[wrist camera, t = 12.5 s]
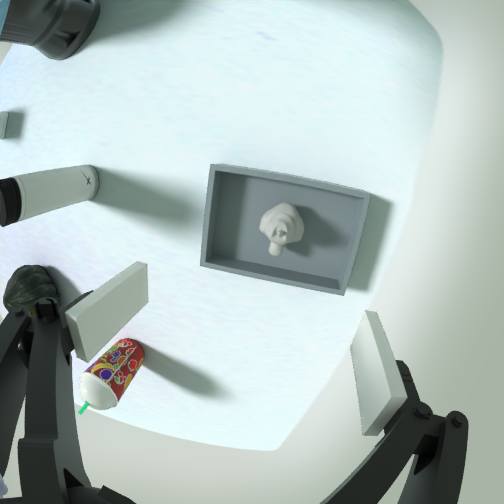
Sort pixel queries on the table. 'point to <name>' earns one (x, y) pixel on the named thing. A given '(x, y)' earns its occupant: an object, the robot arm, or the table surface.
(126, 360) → the smoothie
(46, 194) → the travel mug
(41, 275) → the squash
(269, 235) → the white animal figurine
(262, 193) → the bin
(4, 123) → the supplement box
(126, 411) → the table surface
